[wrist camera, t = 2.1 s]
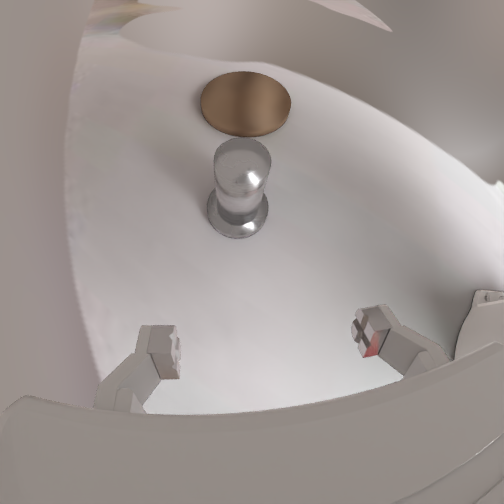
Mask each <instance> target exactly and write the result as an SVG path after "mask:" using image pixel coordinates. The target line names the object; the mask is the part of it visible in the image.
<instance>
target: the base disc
mask: <svg viewBox="0 0 504 504" xmlns="http://www.w3.org/2000/svg"><path fill="white" fill-rule="evenodd" d="M290 107H291V99H290V96H289V94H288V92H287V90H286V89H285V88H284V87H283V86H282V85H281V84H280V83H279V82H277V81H276V80H274V79H273V78H271V77H268V76H266V75H263V74H260V73H255V72H245V71H242V72H232V73H227V74H224V75H221V76H219V77H217V78H215V79H213V80H212V81H211V82H209V83H208V84H207V85H206V87H205V88H204V90H203V92H202V94H201V109H202V113H203V116H204V118H205V119H206V121H207V122H208V123H209V124H210V125H211V126H213V127H214V128H215V129H217V130H219V131H221V132H223V133H226V134H229V135H233V136H238V137H257V136H263V135H266V134H269V133H272V132H274V131H275V130H277V129H278V128H280V127H281V126H282V125H283V124H284V123H285V121H286V119H287V117H288V114H289V111H290Z"/></svg>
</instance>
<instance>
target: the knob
mask: <svg viewBox="0 0 504 504" xmlns="http://www.w3.org/2000/svg"><path fill="white" fill-rule="evenodd" d="M270 167H271V156H270V153H269V152H268V150H267V149H266V147H265V146H264V145H262V144H261V143H260V142H258V141H256V140H253V139H250V138H242V137H240V138H233V139H230V140H228V141H226V142H224V143H223V144H221V145H220V146H219V148H218V149H217V150H216V152H215V155H214V173H215V189H214V190H213V191H212V193H211V194H210V196H209V199H208V203H207V211H208V217H209V220H210V223H211V224H212V226H213V227H214V228H215V229H216V230H217V231H218V232H219V233H220V234H222V235H224V236H226V237H229V238H235V239H240V238H246V237H249V236H251V235H253V234H255V233H256V232H258V231H259V230H260V229H261V227H262V226H263V224H264V222H265V220H266V217H267V214H268V201H267V198H266V196H265V194H264V189H265V185H266V182H267V178H268V175H269V171H270Z"/></svg>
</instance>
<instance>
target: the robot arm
mask: <svg viewBox="0 0 504 504" xmlns="http://www.w3.org/2000/svg"><path fill="white" fill-rule="evenodd" d="M355 316H356V319H355V320H354V321H353V323H352V327H351V333H352V337H353V339H354V341H355V342H357V343H359V345H358V349H359V351H360V353H361V355H362V357H363V358H365V357H370V356H375V355H378V356H379V357H380V358H382V359H383V360H384V361H385V362H387V363H388V364H389V365H390V366H392V367H393V368H394V369H396V370H397V371H398V372H399V373H401V374H402V375H403V376H404V377H403V378H402V380H401V381H398V382H394V383H391V384H388V385H385V386H381V387H378V388H374V389H371V390H367V391H364V392H360V393H356V394H352V395H348V396H344V397H339V398H335V399H330V400H325V401H320V402H315V403H310V404H304V405H298V406H292V407H286V408H278V409H271V410H262V411H253V412H242V413H228V414H207V415H163V414H147V413H146V412H145V410H144V409H143V407H142V405H143V404H144V403H145V401H146V400H147V399H148V397H149V396H150V395H151V393H152V392H153V391H154V389H155V388H156V387H157V385H158V384H159V382H160V381H161V379H180V364H179V360H180V359H181V345H180V340H179V338H178V337H177V328H176V326H175V325H153V326H148V325H142V326H141V328H140V331H139V336H138V340H137V344H136V349H135V354H132V353H131V354H130V355H129V356H128V357H127V358H126V359H125V360H124V361H123V362H122V363H121V364H120V365H119V366H118V367H117V368H116V369H115V370H114V371H113V372H112V373H110V374H109V375H108V376H107V377H106V378H105V379H104V380H103V381H102V382H101V383H100V384H99V385H98V389H97V393H96V397H95V401H94V405H93V408H87V407H81V406H75V405H70V404H64V403H59V402H55V401H50V400H46V399H42V398H38V397H34V396H29V395H25V396H23V397H21V398H20V399H18V400H17V401H15V402H14V403H13V404H11V405H10V406H9V407H8V408H6V409H5V410H4V411H3V412H2V414H1V415H0V504H504V292H499V291H489V290H477V291H476V292H475V295H474V298H473V303H472V307H471V310H470V312H469V314H468V316H467V317H466V319H465V321H464V323H463V325H462V328H461V330H460V333H459V336H458V340H457V344H456V350H455V358H454V360H453V361H451V362H450V360H449V358H448V357H447V355H446V354H445V352H444V351H443V350H442V348H441V347H440V345H438V344H436V343H435V342H433V341H431V340H429V339H427V338H426V337H424V336H422V335H420V334H418V333H417V332H415V331H413V330H411V329H409V328H407V327H406V326H401V324H400V323H399V321H398V320H397V319H396V317H395V316H394V314H393V313H392V311H391V310H390V308H389V307H388V306H387V305H386V304H383V305H378V306H372V307H366V308H360V309H358V310H357V311H356V314H355Z"/></svg>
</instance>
